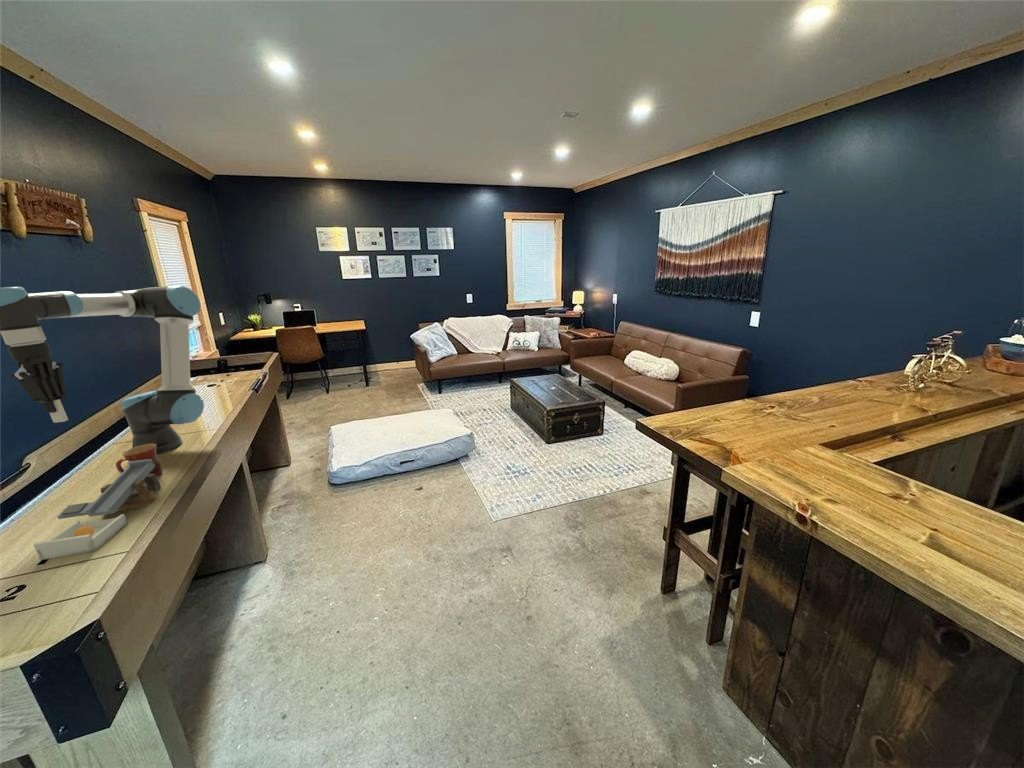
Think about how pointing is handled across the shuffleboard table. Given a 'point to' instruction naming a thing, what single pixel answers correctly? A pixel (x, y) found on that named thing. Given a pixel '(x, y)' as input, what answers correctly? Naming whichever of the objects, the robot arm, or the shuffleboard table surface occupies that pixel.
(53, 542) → the tray
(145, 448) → the mug
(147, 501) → the fulcrum
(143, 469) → the lever
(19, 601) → the shuffleboard table surface
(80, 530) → the ball
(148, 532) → the shuffleboard table surface
